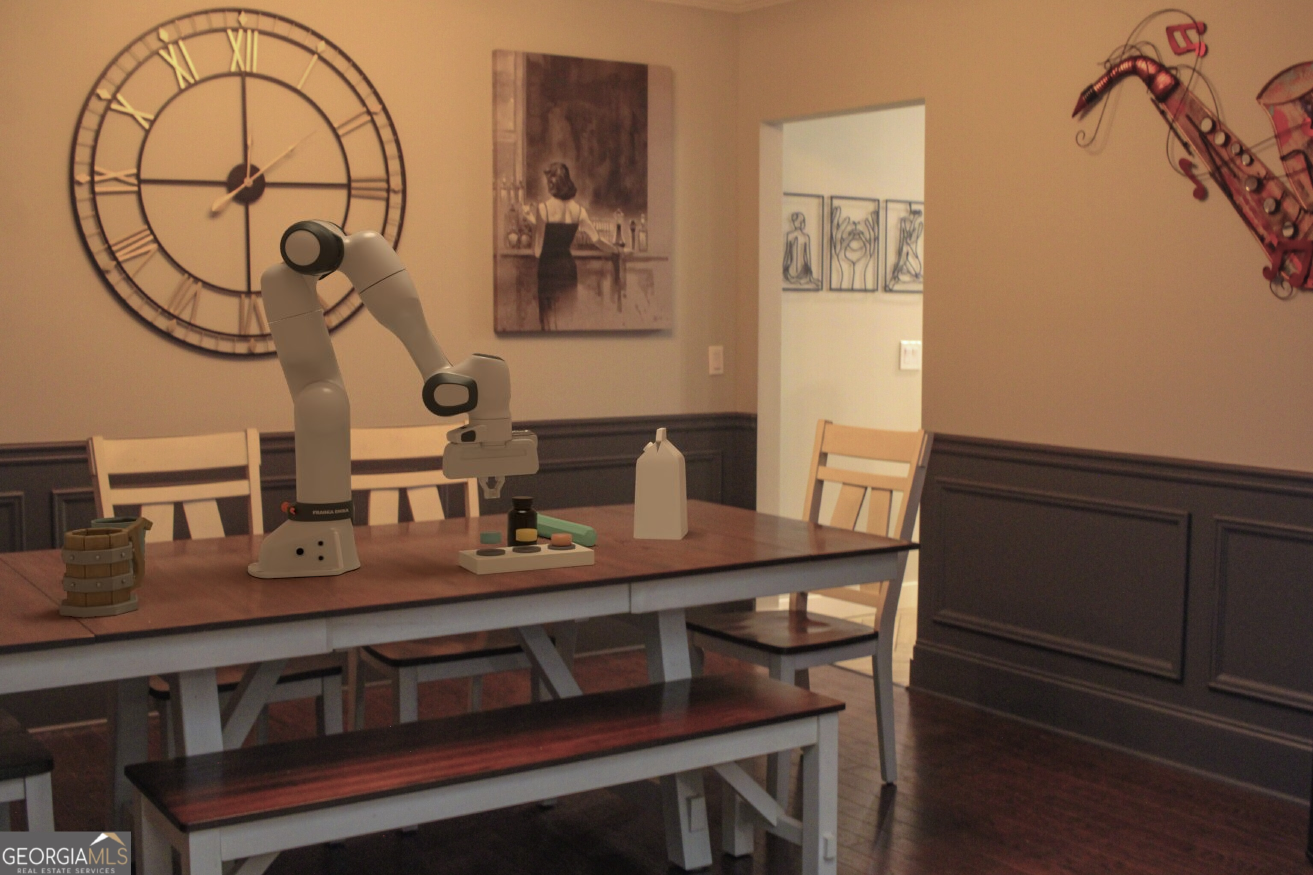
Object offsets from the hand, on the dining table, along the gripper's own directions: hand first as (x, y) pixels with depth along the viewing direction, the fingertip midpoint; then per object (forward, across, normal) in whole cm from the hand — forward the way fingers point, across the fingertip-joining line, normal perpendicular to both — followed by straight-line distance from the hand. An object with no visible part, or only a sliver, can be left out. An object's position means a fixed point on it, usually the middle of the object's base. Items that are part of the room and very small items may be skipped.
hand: (492, 498), depth 266 cm
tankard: (+14, +74, +5) cm, 75 cm away
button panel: (+15, -7, 0) cm, 17 cm away
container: (+15, -27, -27) cm, 41 cm away
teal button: (+9, +1, 0) cm, 9 cm away
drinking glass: (+14, +71, -21) cm, 75 cm away
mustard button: (+9, -7, 0) cm, 12 cm away
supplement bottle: (+15, -13, -18) cm, 27 cm away
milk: (+16, -51, -23) cm, 59 cm away
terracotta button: (+11, -15, 0) cm, 19 cm away
